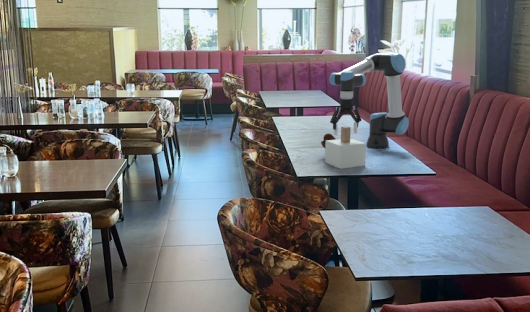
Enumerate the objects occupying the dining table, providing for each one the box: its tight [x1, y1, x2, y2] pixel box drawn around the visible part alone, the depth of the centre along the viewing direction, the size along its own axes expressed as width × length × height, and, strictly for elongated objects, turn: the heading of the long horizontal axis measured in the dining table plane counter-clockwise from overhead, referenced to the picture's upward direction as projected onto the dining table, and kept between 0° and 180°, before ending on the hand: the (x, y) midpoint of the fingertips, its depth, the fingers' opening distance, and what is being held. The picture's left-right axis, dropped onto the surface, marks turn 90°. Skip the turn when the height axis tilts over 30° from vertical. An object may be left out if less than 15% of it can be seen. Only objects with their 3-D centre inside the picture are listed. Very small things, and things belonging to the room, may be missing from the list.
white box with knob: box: [324, 125, 367, 170], centre depth 324 cm, size 17×17×22 cm
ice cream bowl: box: [320, 133, 337, 149], centre depth 345 cm, size 11×11×15 cm
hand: (345, 134), depth 323 cm, fingers open, 13 cm apart
